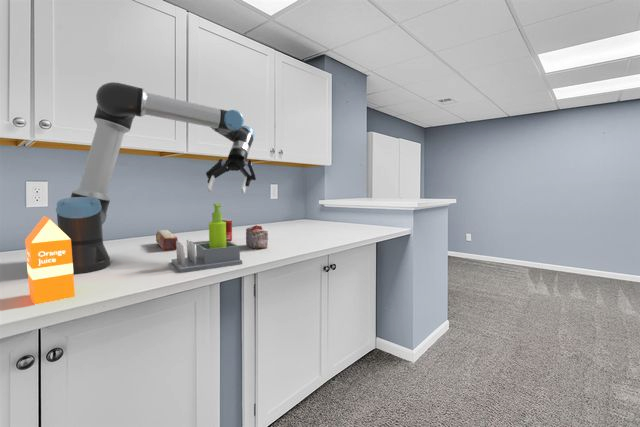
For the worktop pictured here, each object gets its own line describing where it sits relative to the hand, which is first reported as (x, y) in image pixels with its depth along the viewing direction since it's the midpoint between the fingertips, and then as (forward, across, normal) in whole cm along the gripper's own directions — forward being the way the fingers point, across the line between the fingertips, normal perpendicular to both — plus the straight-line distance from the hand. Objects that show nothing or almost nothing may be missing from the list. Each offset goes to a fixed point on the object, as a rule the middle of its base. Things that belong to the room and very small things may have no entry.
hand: (225, 190), depth 124 cm
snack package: (+10, +32, -29) cm, 44 cm away
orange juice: (+53, +25, +18) cm, 62 cm away
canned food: (-1, +12, -40) cm, 42 cm away
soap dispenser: (+26, -2, -9) cm, 27 cm away
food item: (+7, -8, -30) cm, 32 cm away
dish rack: (+28, +1, -8) cm, 29 cm away
